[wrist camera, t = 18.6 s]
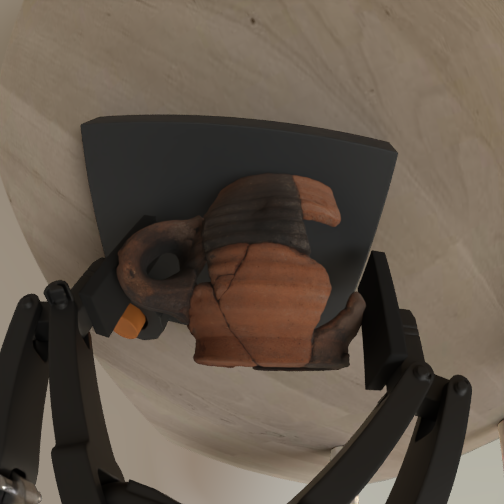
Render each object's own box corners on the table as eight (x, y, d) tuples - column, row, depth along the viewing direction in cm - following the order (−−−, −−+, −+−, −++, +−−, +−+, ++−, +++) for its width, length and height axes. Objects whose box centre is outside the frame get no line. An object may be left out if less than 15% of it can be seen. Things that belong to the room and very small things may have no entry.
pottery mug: (391, 188, 13) (412, 363, 10) (312, 258, 22) (311, 372, 19) (134, 130, 11) (76, 339, 8) (143, 231, 19) (122, 355, 16)
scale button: (120, 319, 22) (111, 333, 21) (112, 296, 20) (102, 311, 19) (148, 327, 22) (140, 342, 20) (142, 304, 20) (133, 320, 19)
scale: (126, 301, 25) (108, 329, 23) (89, 117, 16) (53, 133, 13) (326, 341, 23) (325, 376, 21) (389, 142, 14) (408, 163, 11)
